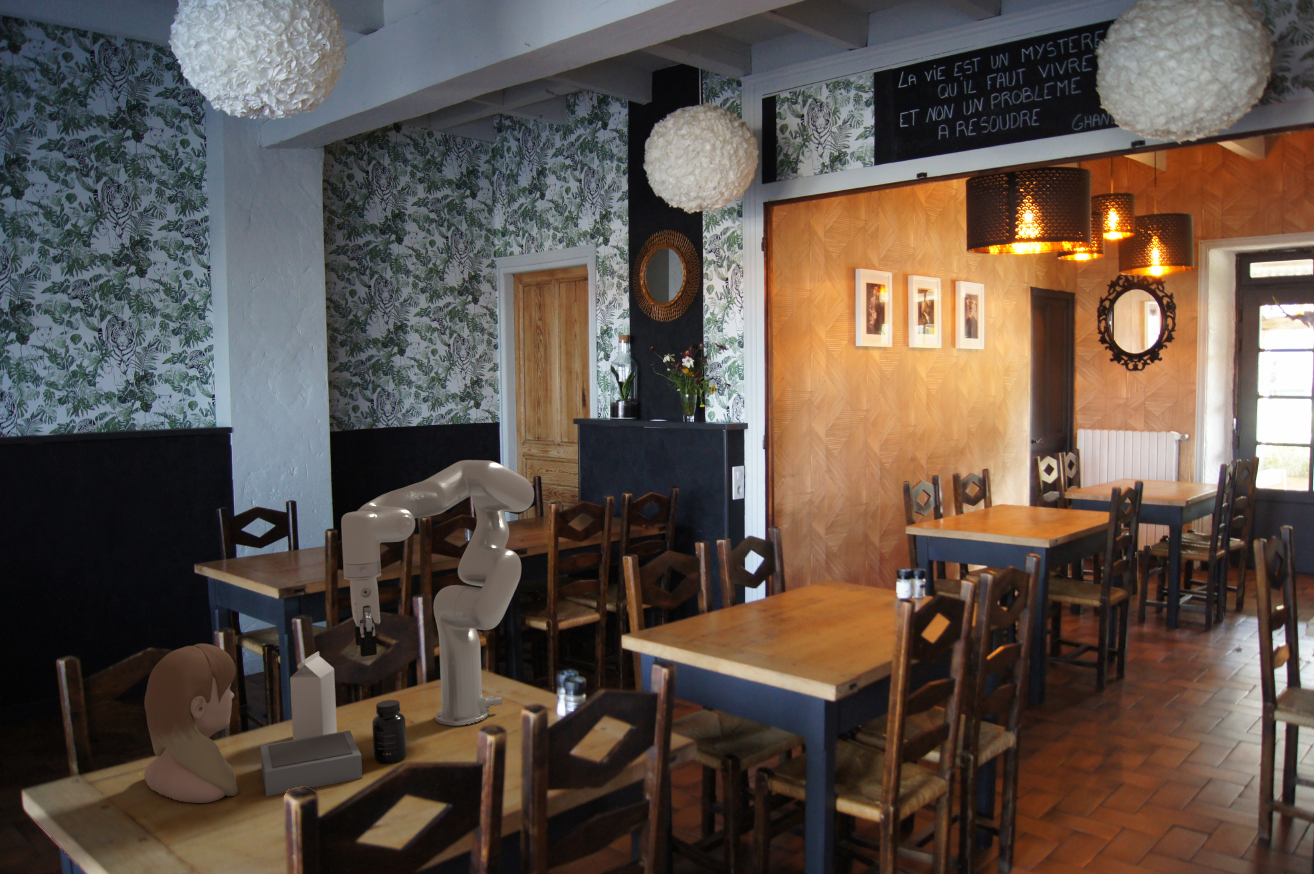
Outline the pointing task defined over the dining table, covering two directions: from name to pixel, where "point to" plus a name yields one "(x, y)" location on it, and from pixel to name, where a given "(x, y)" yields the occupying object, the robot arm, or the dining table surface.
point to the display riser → (310, 762)
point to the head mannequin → (190, 724)
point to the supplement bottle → (389, 733)
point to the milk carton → (313, 698)
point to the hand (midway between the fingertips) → (366, 649)
